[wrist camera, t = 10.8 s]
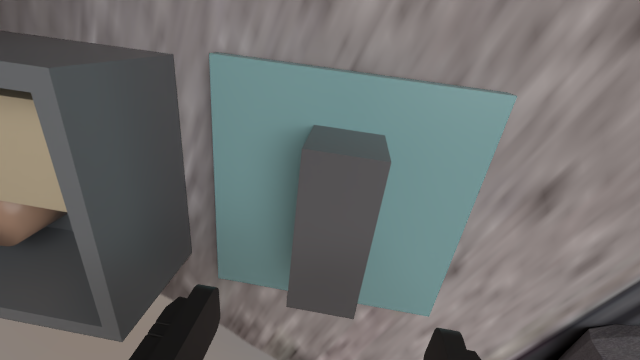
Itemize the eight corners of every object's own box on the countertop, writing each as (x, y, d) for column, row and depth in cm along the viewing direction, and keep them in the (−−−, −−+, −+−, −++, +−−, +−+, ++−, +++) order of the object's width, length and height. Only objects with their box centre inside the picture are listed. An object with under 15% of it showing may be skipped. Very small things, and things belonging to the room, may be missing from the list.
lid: (224, 51, 18) (165, 58, 13) (500, 89, 17) (565, 114, 12) (228, 260, 25) (192, 322, 20) (423, 295, 24) (441, 370, 19)
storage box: (-58, 22, 19) (-315, 15, 12) (173, 54, 18) (48, 67, 11) (20, 222, 26) (-113, 295, 18) (191, 252, 25) (122, 342, 17)
